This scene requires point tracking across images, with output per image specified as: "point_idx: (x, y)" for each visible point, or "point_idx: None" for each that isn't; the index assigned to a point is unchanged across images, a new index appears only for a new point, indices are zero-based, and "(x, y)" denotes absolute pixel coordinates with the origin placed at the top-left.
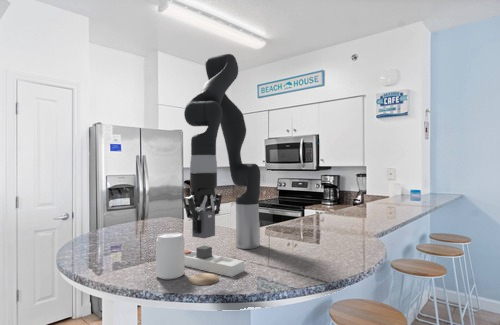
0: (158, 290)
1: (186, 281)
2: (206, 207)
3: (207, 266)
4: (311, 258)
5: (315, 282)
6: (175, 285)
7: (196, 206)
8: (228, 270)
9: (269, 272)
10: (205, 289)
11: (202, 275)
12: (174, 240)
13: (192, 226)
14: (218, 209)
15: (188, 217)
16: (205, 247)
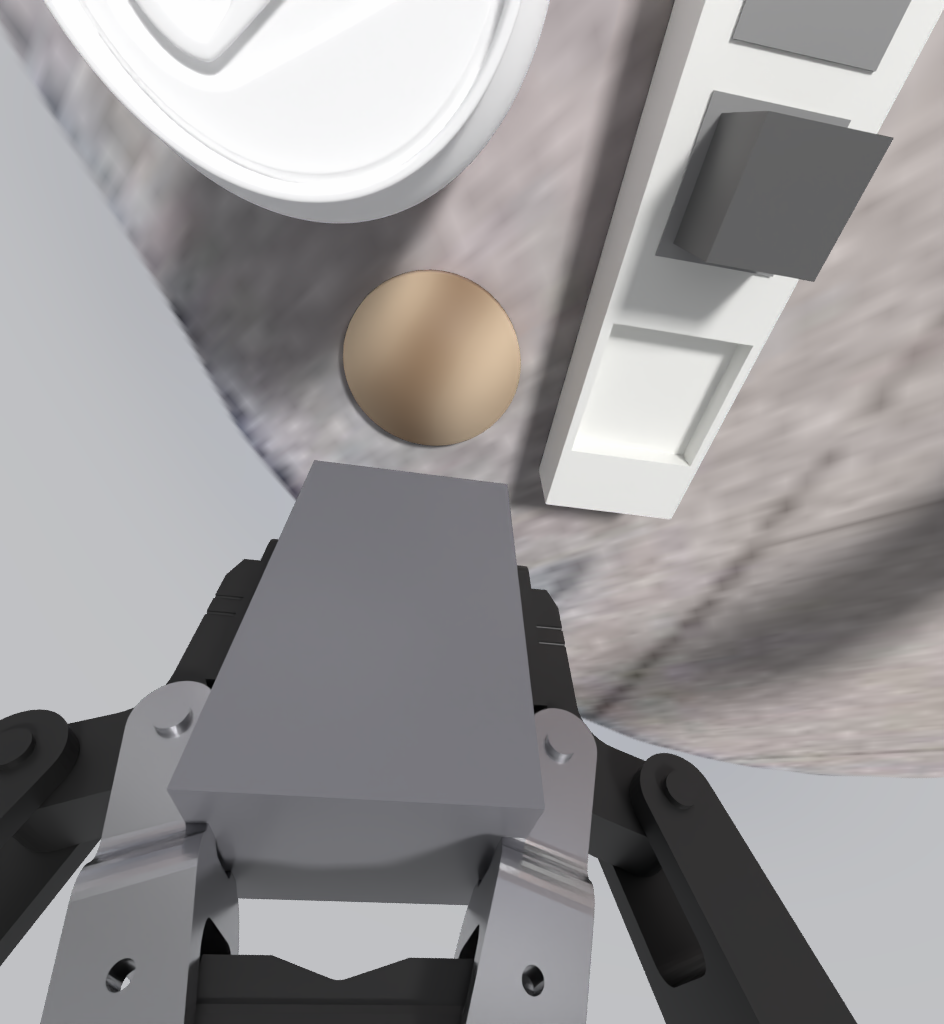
0: (126, 189)
1: (359, 269)
2: (478, 932)
3: (599, 298)
4: (884, 651)
5: (580, 699)
6: (263, 244)
7: (177, 981)
8: (548, 469)
9: (652, 578)
10: (328, 440)
11: (464, 334)
12: (206, 173)
13: (276, 546)
14: (654, 897)
15: (11, 736)
16: (794, 219)
